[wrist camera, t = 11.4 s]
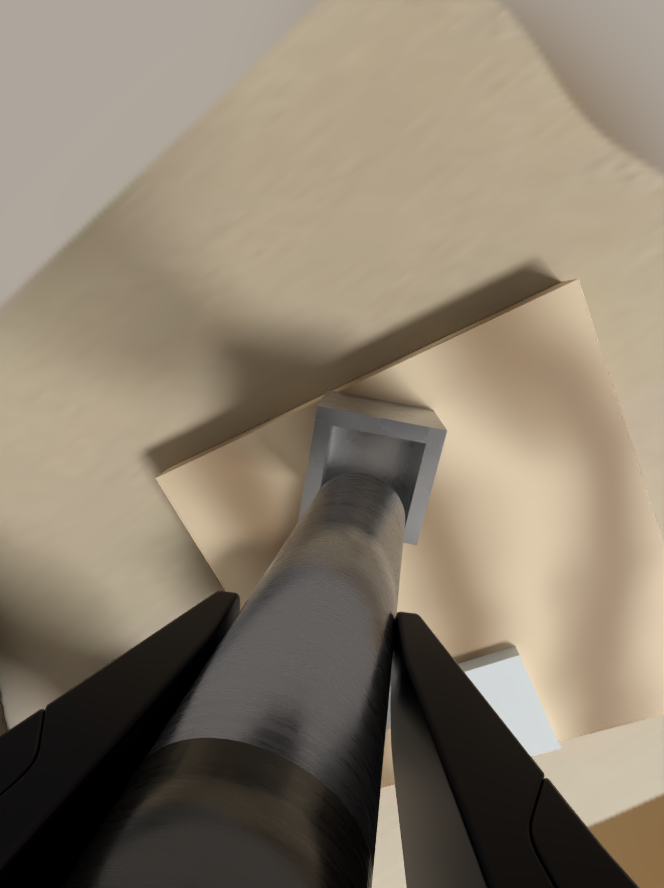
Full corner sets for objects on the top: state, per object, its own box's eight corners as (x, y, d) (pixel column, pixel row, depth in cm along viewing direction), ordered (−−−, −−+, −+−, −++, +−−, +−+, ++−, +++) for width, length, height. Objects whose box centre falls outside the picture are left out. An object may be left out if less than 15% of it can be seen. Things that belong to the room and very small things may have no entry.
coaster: (443, 767, 24) (444, 778, 23) (397, 682, 23) (397, 692, 22) (556, 737, 23) (561, 748, 22) (515, 645, 21) (519, 655, 21)
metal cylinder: (409, 478, 12) (361, 1025, 3) (400, 566, 13) (335, 1239, 3) (314, 467, 13) (-23, 887, 3) (309, 551, 13) (31, 1099, 4)
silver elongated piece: (384, 697, 23) (389, 840, 17) (256, 671, 23) (214, 802, 17) (460, 414, 18) (508, 465, 12) (299, 384, 18) (263, 419, 12)
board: (353, 769, 27) (352, 795, 25) (169, 467, 22) (155, 478, 20) (693, 676, 23) (714, 701, 21) (561, 281, 18) (578, 278, 16)
